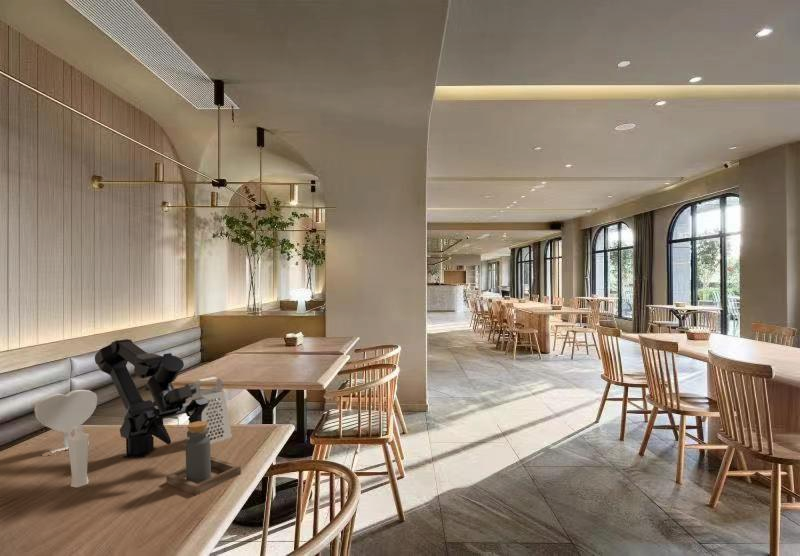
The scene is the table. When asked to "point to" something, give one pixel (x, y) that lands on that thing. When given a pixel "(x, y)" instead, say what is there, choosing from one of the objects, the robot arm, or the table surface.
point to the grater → (214, 410)
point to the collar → (191, 487)
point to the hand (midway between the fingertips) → (186, 438)
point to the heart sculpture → (65, 411)
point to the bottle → (198, 453)
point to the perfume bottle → (79, 457)
